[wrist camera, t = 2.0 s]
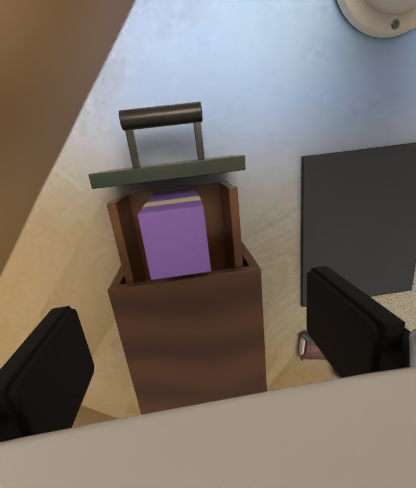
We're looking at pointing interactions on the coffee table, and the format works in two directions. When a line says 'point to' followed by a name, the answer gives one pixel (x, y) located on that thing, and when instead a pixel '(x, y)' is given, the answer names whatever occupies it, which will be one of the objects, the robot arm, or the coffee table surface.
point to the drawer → (211, 194)
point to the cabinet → (192, 335)
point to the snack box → (174, 234)
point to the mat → (361, 217)
